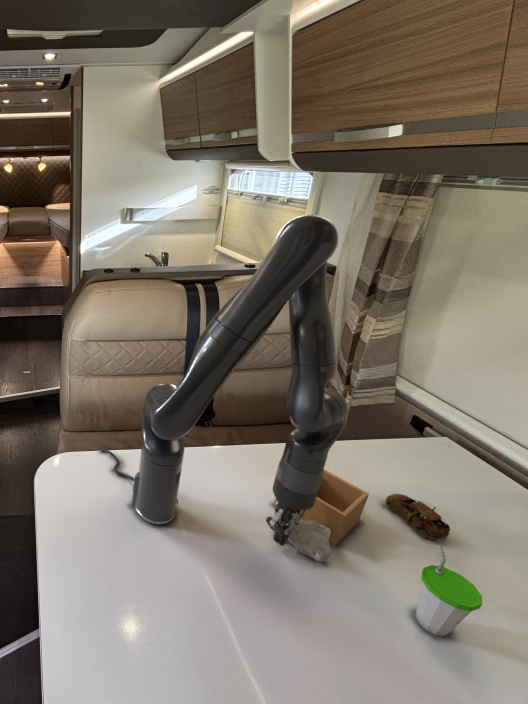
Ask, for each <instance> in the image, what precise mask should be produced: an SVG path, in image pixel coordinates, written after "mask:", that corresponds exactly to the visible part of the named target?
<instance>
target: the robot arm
mask: <svg viewBox="0 0 528 704" xmlns="http://www.w3.org/2000/svg"><path fill="white" fill-rule="evenodd" d="M338 244H339V233H338V229H337V228H336V226H335V224H334V223H333V222H332V221H331V220H330V219H328V218H327V217H324V216H322V215H315V214H306V215H301V216H298V217H295V218H293V219H291V220H289V221H288V222H286V223H285V224H284V225H282V228H280V230H279V231H278V233H277V235H276V237H275V241H274V243H273V244H272V246H271V248H270V249H269V251H268V252H267V254H266V255H265V257H264V259H263V260H262V262H261V264H260V265H259V266H258V268H257V269H256V271H255V272H254V273H253V275H252V276H251V277H250V278H249V279H248V280H247V281H246V283H244V284H243V285H242V286H241V287H240V288H239V289H238V290H237V291H236V292H235V293H234V294H233V295H232V296H231V297H230V298H229V299H228V300H227V301H226V302H225V304H223V306H222V307H221V308H220V309H219V310H218V311H217V313H216V314H215V315H214V316H213V318H212V319H211V321H210V322H209V323H208V324H207V326H206V327H205V328H204V330H203V331H202V332H201V334H200V336H199V338H198V340H197V342H196V345H195V347H194V350H193V353H192V356H191V358H190V362H189V365H188V367H187V370H186V372H185V374H184V376H183V378H182V379H181V381H180V382H179V384H178V385H174V384H172V383H159V384H157V385H154V386H153V387H152V388H150V390H149V391H148V392H147V394H146V395H145V397H144V399H143V404H142V405H143V406H142V414H141V415H142V416H141V429H140V431H141V432H140V433H141V434H140V435H141V449H140V459H139V467H138V472H137V473H135V475H134V477H133V476H131V475H128V474H126V473H123V472H120V471H118V467H119V465H120V459H119V458H118V457H117V455H115V454H114V453H113V452H112V451H110V450H109V449H105V448H102V449H100V452H101V453H107V454H109V455H110V456H111V457H112V458H113V459H114V460H115V462H116V464H115V465H114V466H113V472H114V473H115V474H117V475H119V476H121V477H123V478H126V479H129V480H131V481H132V482H133V485H132V499H131V507H132V508H133V509H134V510H135V512H136V514H137V515H138V516H139V517H140V518H141V519H142V520H144V521H145V522H147V523H150V524H153V525H158V526H159V525H160V526H163V525H167V524H169V523H171V522H172V521H173V520H174V518H175V515H176V507H177V508H178V506H179V500H178V495H179V494H178V493H179V487H180V481H181V475H182V469H183V462H184V456H185V442H184V437H185V436H187V434H188V433H190V432H191V431H192V429H193V428H194V427H195V425H196V424H197V422H198V421H199V420H200V418H201V416H202V415H203V413H204V412H205V410H206V408H207V407H208V405H209V404H210V402H211V401H212V400H213V398H214V397H215V395H216V394H217V393H218V392H219V390H220V389H221V388H222V386H223V385H224V384H225V383H226V382H227V380H228V379H229V378H230V377H231V375H232V374H233V373H234V372H235V371H236V369H237V367H239V366H240V365H241V363H242V362H243V361H244V360H245V359H246V358H247V357H248V355H249V354H250V353H251V352H252V351H253V349H254V348H255V347H256V346H257V345H258V344H259V342H260V341H261V340H262V338H263V337H264V336H265V334H266V333H267V332H268V331H269V329H270V327H271V326H272V325H273V323H274V322H275V320H276V319H277V317H278V316H279V314H280V313H281V311H282V310H283V308H284V307H285V305H286V304H287V302H288V318H289V319H288V320H289V346H290V347H289V348H290V358H291V359H290V360H291V368H292V370H291V374H290V379H289V383H288V389H287V395H286V401H285V403H286V404H285V409H286V413H287V416H288V419H289V420H290V423H291V424H292V425H293V427H295V429H294V430H292V431H291V432H290V433H289V434H288V436H287V438H286V442H285V445H284V449H283V452H282V455H281V457H280V460H279V461H278V466H277V469H276V473H275V478H274V481H273V485H272V493H273V496H274V497H275V499H276V498H277V500H278V501H277V502H276V504H275V503H274V504H275V506H274V515H273V516H270V515H269V516H267V517H266V518H265V522H266V524H267V525H268V527H269V528H270V529H271V530H272V531H274V534H273V541H274V542H276V543H277V545H279V546H281V547H284V546H285V545H286V544H288V542H289V541H288V538H289V534H290V531H292V530H293V527H294V525H297V524H298V522H299V521H300V519H301V517H302V516H303V514H304V512H305V511H306V510H308V509H310V508H312V507H313V506H314V504H315V500H316V497H317V494H318V491H319V488H320V484H321V481H322V477H323V470H325V466H326V462H327V459H328V456H329V452H330V450H331V448H332V447H333V445H335V443H336V442H337V440H338V438H339V436H340V435H341V434H342V432H343V430H344V428H345V426H346V425H347V422H348V418H349V414H350V413H349V404H348V401H347V400H346V398H345V397H344V396H343V394H342V393H340V392H339V391H338V390H335V389H333V388H328V387H327V388H326V386H327V385H328V383H329V382H330V381H332V380H333V379H334V378H335V377H336V375H337V373H338V360H337V358H338V357H337V348H336V345H337V344H336V338H335V329H334V326H333V325H334V324H333V320H332V315H331V311H330V306H329V299H328V291H327V268H328V260H329V259H331V257H332V256H333V255H334V254H335V252H336V250H337V247H338ZM105 451H106V452H105Z"/></svg>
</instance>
